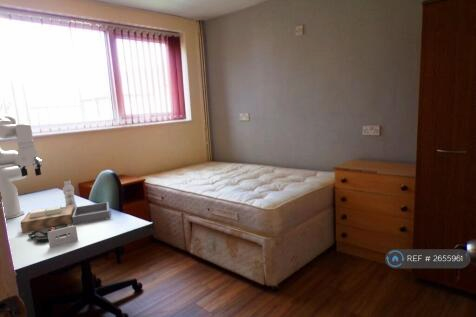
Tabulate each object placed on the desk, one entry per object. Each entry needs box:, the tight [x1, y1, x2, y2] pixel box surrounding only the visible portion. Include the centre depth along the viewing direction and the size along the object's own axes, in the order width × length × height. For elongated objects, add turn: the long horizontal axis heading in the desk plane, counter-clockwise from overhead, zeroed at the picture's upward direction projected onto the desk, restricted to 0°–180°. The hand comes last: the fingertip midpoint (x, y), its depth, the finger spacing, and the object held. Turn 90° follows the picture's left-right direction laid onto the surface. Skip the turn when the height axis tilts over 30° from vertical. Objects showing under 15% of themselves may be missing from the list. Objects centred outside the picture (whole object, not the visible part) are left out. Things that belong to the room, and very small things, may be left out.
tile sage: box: [46, 205, 62, 215], centre depth 186 cm, size 7×7×2 cm
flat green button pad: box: [27, 224, 70, 243], centre depth 166 cm, size 18×18×5 cm
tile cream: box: [30, 207, 48, 218], centre depth 183 cm, size 7×7×2 cm
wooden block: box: [20, 205, 75, 234], centre depth 186 cm, size 24×20×6 cm
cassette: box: [47, 224, 79, 249], centre depth 153 cm, size 12×2×8 cm, turn 125°
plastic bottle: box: [62, 179, 78, 209], centre depth 207 cm, size 6×7×20 cm
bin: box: [72, 201, 111, 226], centre depth 194 cm, size 19×22×4 cm
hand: (31, 175), depth 185 cm, fingers open, 9 cm apart
